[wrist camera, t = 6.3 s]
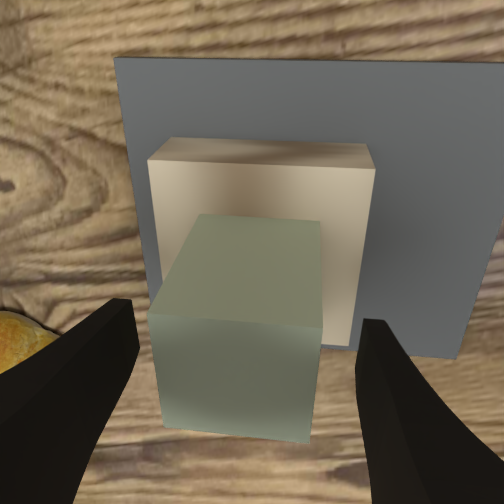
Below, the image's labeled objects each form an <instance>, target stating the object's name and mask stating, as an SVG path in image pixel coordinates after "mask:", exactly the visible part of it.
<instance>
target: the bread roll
mask: <svg viewBox="0 0 504 504" xmlns="http://www.w3.org/2000/svg"><path fill="white" fill-rule="evenodd" d="M59 337H60V336H59V335H56V334H54V333H53V332H51V331H48V330H45V329H43V328H42V327H41V326H40V325H39V324H38V323H36V322H35V321H33V320H31V319H29V318H27V317H25V316H23V315H20V314H17V313H14V312H10V311H0V374H1V373H3V372H4V371H6V370H8V369H10V368H12V367H13V366H15V365H17V364H19V363H20V362H22V361H24V360H25V359H27V358H29V357H30V356H32V355H33V354H35V353H36V352H38V351H39V350H41V349H42V348H44V347H45V346H47V345H48V344H50V343H51V342H53V341H54V340H56V339H57V338H59Z"/></svg>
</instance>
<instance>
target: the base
mask: <svg viewBox="0 0 504 504" xmlns="http://www.w3.org/2000/svg"><path fill="white" fill-rule="evenodd" d="M147 162H148V170H149V178H150V186H151V194H152V201H153V209H154V217H155V225H156V232H157V240H158V248H159V256H160V264H161V271H162V279H163V282H164V280H165V278H166V276H167V274H168V272H169V270H170V269H171V267H172V265H173V263H174V261H175V259H176V257H177V255H178V254H179V252H180V250H181V248H182V246H183V244H184V242H185V240H186V238H187V237H188V235H189V233H190V231H191V229H192V227H193V225H194V223H195V222H196V220H197V218H198V216H199V214H212V215H229V216H245V217H262V218H278V219H295V220H311V221H320V245H321V277H322V309H323V334H322V342H321V344H328V345H339V346H349V340H350V333H351V327H352V320H353V314H354V307H355V301H356V294H357V287H358V281H359V274H360V268H361V261H362V255H363V248H364V242H365V235H366V229H367V222H368V216H369V209H370V203H371V196H372V190H373V183H374V177H375V170H376V169H375V166H374V163H373V161H372V158H371V155H370V153H369V150H368V147H367V145H366V144H358V143H329V142H301V141H272V140H243V139H214V138H185V137H171V138H169V139H168V140H167V141H166V142H165V143H164V144H163V145H162V146H161V147H160V148H159V149H158V150H157V151H156V152H155V153H154V154H153V155H152V156H151V157H150V158H149V159H148V160H147Z"/></svg>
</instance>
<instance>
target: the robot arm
mask: <svg viewBox="0 0 504 504" xmlns="http://www.w3.org/2000/svg"><path fill="white" fill-rule="evenodd" d="M139 350H140V345H139V339H138V333H137V328H136V322H135V317H134V311H133V305H132V300H130V299H117V298H113V299H111V300H110V301H108V302H107V303H105V304H104V305H103V306H101V307H100V308H99V309H97V310H96V311H95V312H93V313H92V314H90V315H89V316H88V317H86V318H85V319H84V320H82V321H81V322H80V323H78V324H77V325H76V326H74V327H73V328H71V329H70V330H69V331H67V332H66V333H64V334H63V335H62V336H60V337H59V338H57V339H56V340H54V341H53V342H51V343H50V344H48V345H47V346H45V347H44V348H42V349H41V350H39V351H38V352H36V353H35V354H33V355H32V356H30V357H29V358H27V359H25V360H24V361H22V362H20V363H19V364H17V365H15V366H13V367H12V368H10V369H8V370H6V371H4V372H3V373H1V374H0V504H73V501H74V498H75V496H76V493H77V490H78V487H79V485H80V482H81V480H82V477H83V474H84V472H85V469H86V467H87V464H88V462H89V459H90V457H91V454H92V452H93V450H94V448H95V445H96V443H97V441H98V439H99V437H100V435H101V433H102V431H103V429H104V427H105V425H106V423H107V421H108V419H109V417H110V416H111V414H112V412H113V410H114V408H115V406H116V404H117V402H118V400H119V398H120V396H121V394H122V392H123V390H124V388H125V386H126V384H127V382H128V380H129V378H130V376H131V373H132V370H133V368H134V365H135V362H136V359H137V356H138V353H139ZM355 380H356V399H357V406H358V412H359V418H360V424H361V429H362V435H363V441H364V447H365V453H366V459H367V464H368V470H369V478H370V485H371V497H372V504H504V461H503V460H502V459H501V458H499V457H498V456H497V455H496V454H495V453H494V452H493V451H492V450H491V449H490V448H488V447H487V446H486V445H485V444H484V443H483V442H482V441H481V440H480V439H478V438H477V437H476V436H475V435H474V434H473V433H472V432H471V431H470V430H469V429H468V428H467V427H466V426H465V425H464V424H463V423H462V422H461V420H460V419H459V418H458V417H457V416H456V415H455V414H454V413H453V412H452V411H451V410H450V409H449V407H448V406H447V405H446V404H445V403H444V402H443V401H442V399H441V398H440V397H439V396H438V395H437V393H436V392H435V391H434V390H433V388H432V387H431V386H430V385H429V383H428V382H427V381H426V380H425V378H424V377H423V376H422V374H421V373H420V372H419V370H418V369H417V367H416V366H415V365H414V363H413V362H412V361H411V359H410V358H409V356H408V355H407V353H406V352H405V350H404V349H403V347H402V346H401V344H400V343H399V341H398V340H397V338H396V336H395V335H394V333H393V332H392V330H391V328H390V327H389V325H388V323H387V322H386V321H385V320H381V319H368V318H363V323H362V329H361V335H360V341H359V347H358V353H357V359H356V365H355Z"/></svg>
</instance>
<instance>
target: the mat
mask: <svg viewBox="0 0 504 504" xmlns="http://www.w3.org/2000/svg"><path fill="white" fill-rule="evenodd" d="M113 59H114V66H115V72H116V79H117V86H118V92H119V99H120V105H121V112H122V119H123V125H124V132H125V138H126V145H127V152H128V158H129V165H130V171H131V178H132V185H133V191H134V198H135V205H136V211H137V218H138V224H139V231H140V238H141V244H142V251H143V257H144V264H145V271H146V277H147V284H148V290H149V297H150V304H152V302H153V301H154V299H155V297H156V295H157V293H158V291H159V289H160V287H161V286H162V284H163V279H162V271H161V264H160V256H159V248H158V240H157V232H156V225H155V217H154V209H153V201H152V194H151V186H150V178H149V170H148V162H147V160H148V159H149V158H150V157H151V156H152V155H153V154H154V153H155V152H156V151H157V150H158V149H159V148H160V147H161V146H162V145H163V144H164V143H165V142H166V141H167V140H168V139H169V138H171V137H185V138H214V139H243V140H272V141H301V142H329V143H358V144H366V145H367V147H368V150H369V153H370V155H371V158H372V161H373V163H374V166H375V169H376V170H375V177H374V183H373V190H372V196H371V203H370V209H369V216H368V222H367V229H366V235H365V242H364V248H363V255H362V261H361V268H360V274H359V281H358V287H357V294H356V301H355V307H354V314H353V320H352V327H351V333H350V340H349V346H339V345H328V344H321V348H327V349H339V350H351V351H358V347H359V341H360V335H361V329H362V323H363V318H368V319H381V320H385V321H386V322H387V323H388V325H389V327H390V328H391V330H392V332H393V333H394V335H395V336H396V338H397V340H398V341H399V343H400V344H401V346H402V347H403V349H404V350H405V352H406V353H407V355H410V356H421V357H433V358H445V359H456V358H457V355H458V352H459V349H460V346H461V343H462V340H463V337H464V334H465V331H466V328H467V325H468V322H469V319H470V316H471V313H472V310H473V307H474V304H475V301H476V298H477V295H478V292H479V289H480V286H481V283H482V280H483V277H484V274H485V271H486V268H487V265H488V262H489V259H490V256H491V253H492V249H493V246H494V243H495V240H496V237H497V234H498V231H499V228H500V225H501V222H502V219H503V216H504V62H440V61H371V60H302V59H233V58H163V57H115V58H113Z"/></svg>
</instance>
